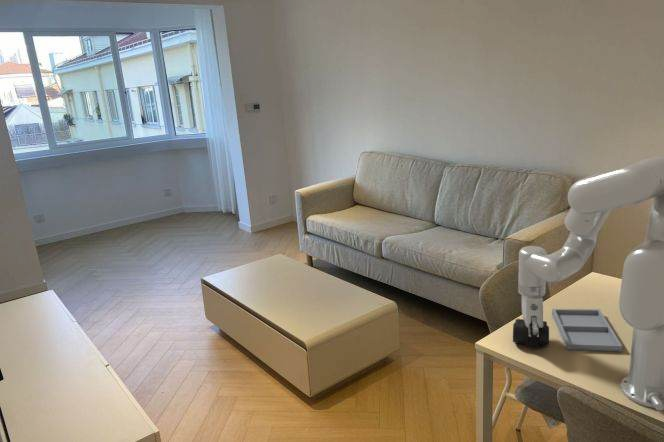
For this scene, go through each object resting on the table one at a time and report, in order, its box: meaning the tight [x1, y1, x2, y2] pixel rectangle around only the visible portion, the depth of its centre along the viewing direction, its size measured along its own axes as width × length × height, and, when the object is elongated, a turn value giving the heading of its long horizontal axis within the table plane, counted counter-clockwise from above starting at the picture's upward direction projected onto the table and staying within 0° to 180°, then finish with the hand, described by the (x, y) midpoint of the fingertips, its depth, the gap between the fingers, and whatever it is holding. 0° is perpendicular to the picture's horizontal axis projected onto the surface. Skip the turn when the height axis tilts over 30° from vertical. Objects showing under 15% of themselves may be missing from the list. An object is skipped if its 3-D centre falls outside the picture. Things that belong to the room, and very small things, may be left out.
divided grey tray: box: [551, 308, 623, 353], centre depth 155 cm, size 22×15×2 cm, turn 167°
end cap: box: [512, 318, 550, 347], centre depth 151 cm, size 10×7×7 cm
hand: (530, 339), depth 151 cm, fingers closed on end cap, 7 cm apart
